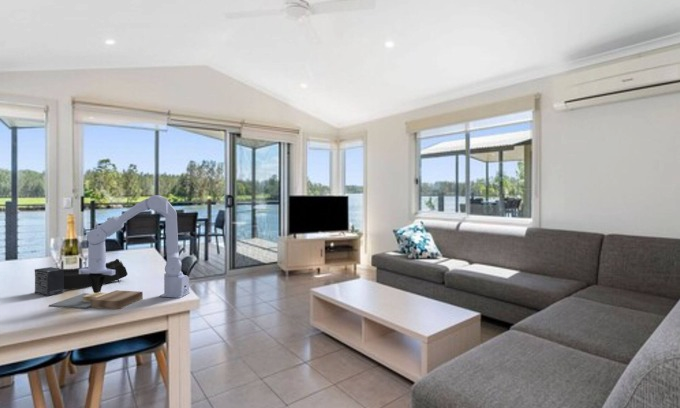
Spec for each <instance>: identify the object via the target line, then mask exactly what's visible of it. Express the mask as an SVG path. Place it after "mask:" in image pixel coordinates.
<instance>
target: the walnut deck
mask: <svg viewBox="0 0 680 408" xmlns="http://www.w3.org/2000/svg"><path fill="white" fill-rule="evenodd" d="M107 293H108V294H105V295H102V296H99V297H96V298H94V299H91V300H90V307H89V308H95V309H108V310H109V309H110V310H111V309H112V310H120V309H122V308H125V307H127V306H129V305H132V304H134V303H136V302H138V301H141V300H143V291H132V290H117V289H116V290H113V291H111V292H107Z"/></svg>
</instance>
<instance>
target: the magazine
mask: <svg viewBox="0 0 680 408" xmlns="http://www.w3.org/2000/svg"><path fill="white" fill-rule="evenodd" d="M56 268H57V269H60V267H56ZM82 268H83V267H78V268H76V267H75V268H63V269H64V291H66V290H67V291H68V290H80V289H86V288H92V286H91V284H90V282H89V280H88V279H87V276H89V274H79V269H82ZM84 268H88V266H86V267H84ZM106 268H107V269H112V270H115V275H112V276H110V275H107V277H106V279H105V280H104V282H103V285H105V284H109V283H112V282H115V281H116V282H120V280H121V279H123V278H125V277H127V276H128V271H127V268H126V266H125V265H124V263H123V261H122V260H120V259H119V258H115V260H112V261H108V262H106Z"/></svg>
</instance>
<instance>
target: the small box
mask: <svg viewBox="0 0 680 408" xmlns="http://www.w3.org/2000/svg"><path fill="white" fill-rule="evenodd" d="M57 268H58V267H52V266H50V267H42V268H41V267H40V268H35V269H34V293H35V294H37V295H42V296H45V297H49V296H54V295H59V294H64V293H65V290H64V269H65V268H59V269H57Z"/></svg>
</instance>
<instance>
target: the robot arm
mask: <svg viewBox="0 0 680 408" xmlns="http://www.w3.org/2000/svg"><path fill="white" fill-rule="evenodd" d="M149 210H151V211H154V212H156V213H159V214H161V216H163V217H164V219H165V221H164V223H165V238H166V239H165V241H166V243H165V244H166V263H165V266H164V272H165V273H164V276H163V279H164V281H163V284H164V285H163V286H164V287H163V291H164V292H163V293H162V294H160V295H159V297H161V298H162V297H163V298H177V299H178V298H182V297H184V296H186V295H188V294H190V293H191V291H190V277H189V276H188V275H185V274H184V273H183V271H182V267H183V266H182V263H183V262H182V260H181V258H180V253H179V236H178V235H179V234H178V214H177V210H176V209H175V208H174V206H173V204H172V203H170V202H169V200H168V199H167V198H165V197H164V196H162V195H159V194H155V195H151V196H149V197H148V198H146V199H144V200H141V201H140V202H137V203H136V204H135V205H133V206H131V208H129V209H128V210H127V211H125V212H123V213H122V214H121V215H119V216H117V215H116V216H115V215H113V216H109V217H107V219H106V220H105V221H104V222H103V223H101V224H100V225H99V224H97V225H96V226H95V228H94V229H91V230H90V231H89V232H88V233H87V234H86V240H87V243H88V248H87V253H88V254H87V256H88V259H87V261H88V262H87V263H88V264H87V265H88V266H87V267H88V268H85V267H81V268H82V269H79V274H89V276H87V279H88V280H89V282H90V284H91V286H92V287H91V289H92V293H98V292H99V293H102V292H101V290H102V288H103V285H104V284H103V282H104V280H105V279H106V277H107V275H110V276H112V275H115V270H112V269H107V268H106V263H107V262H106V259H107V258H106V257H107V256H106V253H107V252H106V250H107V249H106V248H107V247H106V240H107V238H110V237H111V236H113V235H114V234H115V233H117V232H119V231H120V230H121V229H123V228H124V226H125V222H128V220H130V219H132V218H134V217H135V216H136V215H138V214H139V213H141V212H146V211H149Z"/></svg>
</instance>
